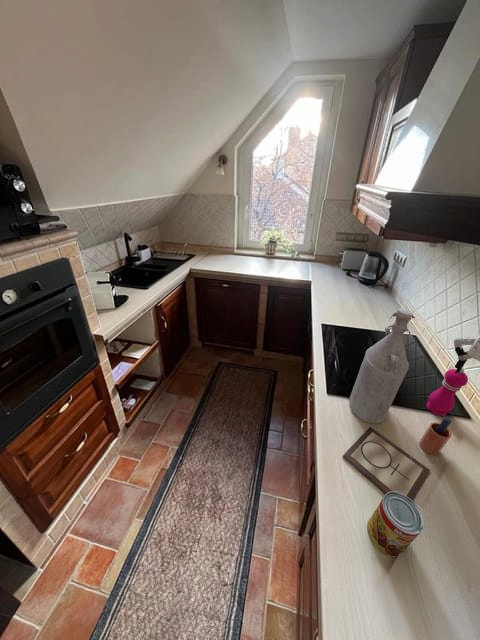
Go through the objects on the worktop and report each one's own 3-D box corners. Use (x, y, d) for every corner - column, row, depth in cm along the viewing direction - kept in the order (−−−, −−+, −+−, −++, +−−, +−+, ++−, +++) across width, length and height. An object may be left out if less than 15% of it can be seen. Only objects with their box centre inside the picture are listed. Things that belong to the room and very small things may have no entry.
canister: (347, 418, 88) (382, 321, 68) (350, 385, 102) (381, 296, 81) (387, 432, 84) (438, 333, 63) (385, 396, 97) (427, 304, 77)
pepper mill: (424, 399, 97) (448, 358, 86) (447, 408, 93) (475, 366, 83) (423, 411, 91) (448, 369, 81) (447, 421, 88) (476, 379, 78)
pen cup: (440, 449, 79) (453, 431, 74) (434, 459, 76) (447, 441, 71) (422, 437, 82) (433, 419, 78) (415, 446, 80) (427, 428, 75)
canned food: (387, 564, 56) (407, 542, 49) (359, 524, 62) (374, 500, 56) (411, 546, 58) (433, 523, 52) (382, 509, 64) (399, 485, 58)
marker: (433, 447, 79) (452, 419, 72) (431, 451, 78) (450, 423, 71) (426, 443, 80) (445, 415, 73) (424, 446, 79) (443, 418, 72)
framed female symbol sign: (429, 472, 73) (431, 469, 72) (405, 511, 64) (407, 509, 64) (369, 428, 85) (370, 426, 84) (342, 456, 76) (343, 454, 76)
